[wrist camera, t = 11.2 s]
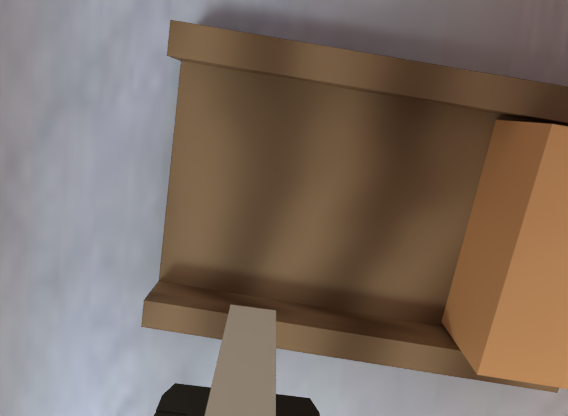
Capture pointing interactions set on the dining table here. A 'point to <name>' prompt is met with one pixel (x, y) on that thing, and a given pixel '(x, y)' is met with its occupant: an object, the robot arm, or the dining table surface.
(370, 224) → the walnut chute
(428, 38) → the dining table surface
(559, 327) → the block
